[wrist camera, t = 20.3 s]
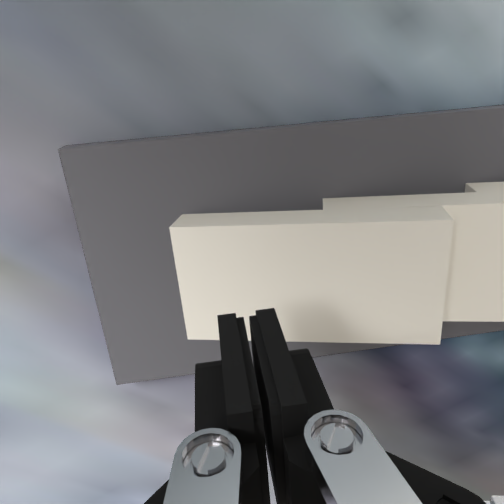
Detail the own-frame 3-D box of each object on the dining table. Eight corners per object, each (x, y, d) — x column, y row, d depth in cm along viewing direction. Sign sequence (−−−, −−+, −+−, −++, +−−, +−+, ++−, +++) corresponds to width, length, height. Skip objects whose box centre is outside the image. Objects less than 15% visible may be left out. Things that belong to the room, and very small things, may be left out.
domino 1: (187, 339, 18) (440, 344, 16) (169, 227, 16) (453, 220, 14) (197, 319, 19) (430, 321, 18) (182, 214, 17) (441, 205, 16)
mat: (120, 371, 21) (116, 384, 20) (65, 145, 17) (58, 149, 16) (669, 295, 23) (688, 304, 23) (742, 82, 19) (769, 82, 18)
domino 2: (325, 320, 18) (582, 322, 17) (323, 209, 16) (614, 199, 15) (324, 302, 20) (561, 301, 18) (322, 198, 18) (587, 187, 16)
